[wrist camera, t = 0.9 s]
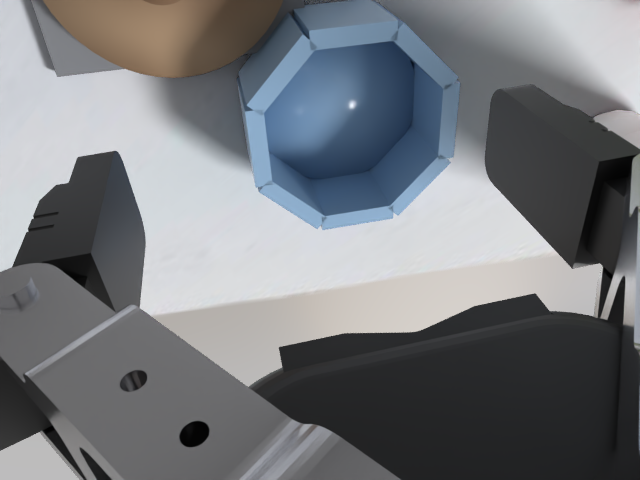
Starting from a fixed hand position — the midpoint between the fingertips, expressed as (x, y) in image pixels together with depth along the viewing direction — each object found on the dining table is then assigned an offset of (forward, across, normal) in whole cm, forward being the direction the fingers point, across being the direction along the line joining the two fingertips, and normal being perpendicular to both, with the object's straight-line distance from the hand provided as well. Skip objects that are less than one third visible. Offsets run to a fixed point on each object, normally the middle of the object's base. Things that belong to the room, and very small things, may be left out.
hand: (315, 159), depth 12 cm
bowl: (+20, -4, +7) cm, 21 cm away
